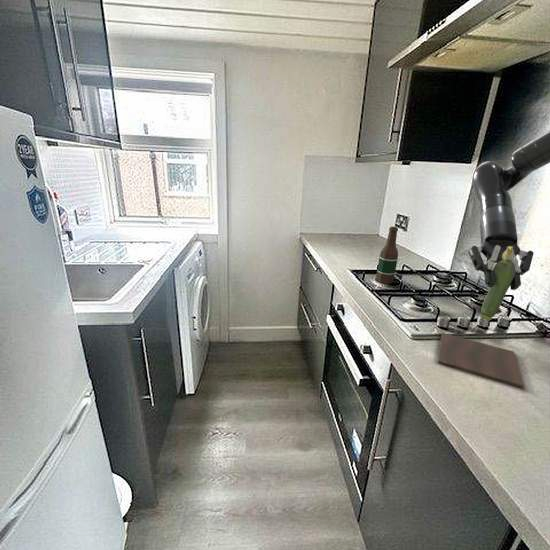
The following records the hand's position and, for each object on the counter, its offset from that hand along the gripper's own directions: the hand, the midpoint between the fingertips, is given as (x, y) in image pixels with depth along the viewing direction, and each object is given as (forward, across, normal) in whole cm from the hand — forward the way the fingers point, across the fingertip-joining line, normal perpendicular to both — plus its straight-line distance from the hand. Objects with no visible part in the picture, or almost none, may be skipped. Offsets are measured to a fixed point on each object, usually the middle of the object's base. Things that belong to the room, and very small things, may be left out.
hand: (503, 287), depth 72 cm
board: (+14, 0, +17) cm, 22 cm away
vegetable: (+6, 0, +9) cm, 10 cm away
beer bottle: (-22, -20, +53) cm, 61 cm away
